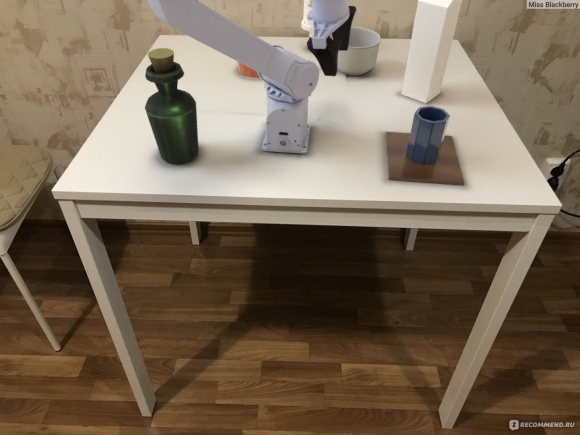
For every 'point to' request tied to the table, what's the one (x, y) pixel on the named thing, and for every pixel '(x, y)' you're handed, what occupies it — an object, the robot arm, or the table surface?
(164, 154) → the potion bottle
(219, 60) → the table surface
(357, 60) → the teacup
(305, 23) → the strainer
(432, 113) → the blue cup
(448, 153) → the walnut board
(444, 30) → the milk
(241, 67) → the orange ramekin
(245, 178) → the table surface
